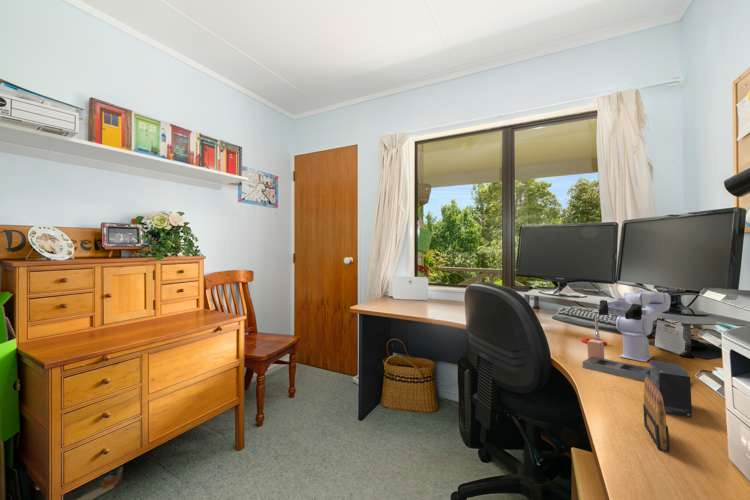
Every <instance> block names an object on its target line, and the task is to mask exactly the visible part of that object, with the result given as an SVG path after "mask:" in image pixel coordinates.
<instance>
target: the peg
mask: <svg viewBox="0 0 750 500" xmlns="http://www.w3.org/2000/svg"><path fill="white" fill-rule="evenodd" d="M594 339H595V338H592V339H591V340H589V341H587V343H586V344H587V359H588V358H590V357H592V356H593V357H598V358H603V359H605V345H604V343H603V341H604V340H603V341H600V340H594Z"/></svg>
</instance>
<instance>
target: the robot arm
mask: <svg viewBox="0 0 750 500" xmlns="http://www.w3.org/2000/svg"><path fill="white" fill-rule="evenodd" d="M671 300H672V299H671V295H670V293H668V292H660V291H647V290H646V291H644V290H643V289H637V290H636V291H635V290H634V291H633V292H623V293H622V297H621V296H620V297H618V298H617V300H612V301H608V300H605V299H601V300H600V301H599V302H598V303H596V307H597V310H598V315H599V316H609V313H611V314H613V315H616V316H617V317H616V320H615V327H616V330H617V331H618V332H620V334H621V336H622V339H621V340H622V352H623V353H622V354H620V355H619V358H623V359H627V360H632V361H633V360H634V361H638V362H644V363H646V362H649V361H650V360H651V359H652V357H653V354H650V347H649V346H650V345H649V338H648V337H647V336H650V334H652V332H653V326H654V325H653V322H655V321H656V320H658V318H659V317H660V316H661V314H662V313H664V312H666V311H668V310H670V307H671ZM659 315H660V316H659ZM658 316H659V317H658Z"/></svg>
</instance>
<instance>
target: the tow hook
mask: <svg viewBox="0 0 750 500" xmlns="http://www.w3.org/2000/svg"><path fill="white" fill-rule="evenodd" d="M594 327H595V328H594V330H595V333H594V336H595V338H591V337H589V338H582V339H581V342H582V343H585V344H588V343H587V340H591V339H594V340H600V341H603V343H604V346H606V345H608V342H607V341H604V340H603V339H600V337H601V336H600V333H599V332H600V331H599V321H598V316H597V315H594Z"/></svg>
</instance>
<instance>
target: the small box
mask: <svg viewBox="0 0 750 500" xmlns="http://www.w3.org/2000/svg"><path fill="white" fill-rule="evenodd" d="M649 368H650V371H651V382H652V383H653V384H654V385H655V387H656V388H657V389H658V391H660V393H661V395H662V398H663V403H664V410H665V413H666V415H667V414H668V415H673V416H678V417H684V418H690V419H693V409H692V408H693V407H692V387H691V385H692V384H691V375H690V374H689V373H687V372H686V371H685V369H683V367H682V366H681V365H680V364H679V363H673V362H666V361H665V362H664V361H658V360H651V359H649Z"/></svg>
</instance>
